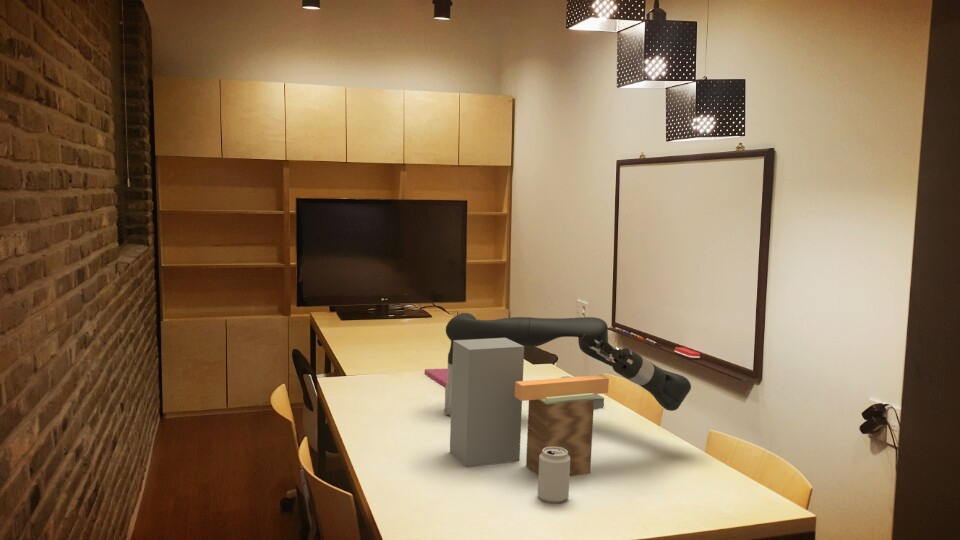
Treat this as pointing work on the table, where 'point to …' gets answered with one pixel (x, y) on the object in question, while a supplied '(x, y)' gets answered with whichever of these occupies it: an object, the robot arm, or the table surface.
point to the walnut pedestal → (561, 432)
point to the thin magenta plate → (438, 375)
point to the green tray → (568, 398)
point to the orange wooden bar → (560, 387)
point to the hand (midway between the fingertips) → (591, 340)
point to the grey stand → (486, 401)
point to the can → (554, 474)
